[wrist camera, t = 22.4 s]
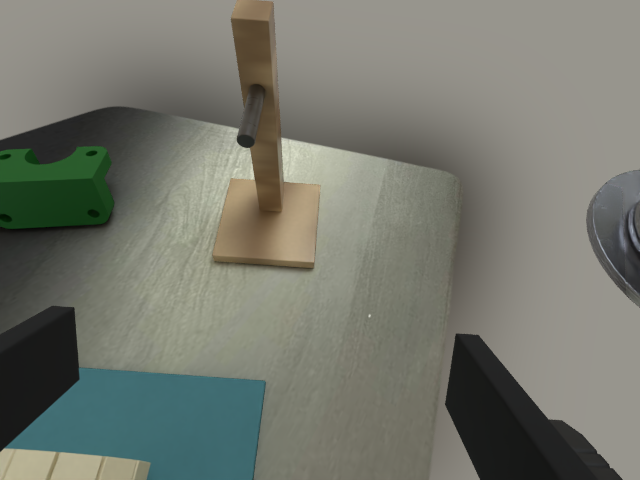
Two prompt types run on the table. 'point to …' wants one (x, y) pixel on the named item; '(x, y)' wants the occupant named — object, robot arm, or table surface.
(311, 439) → the table surface
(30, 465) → the segmented ring
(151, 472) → the mat
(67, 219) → the clamp
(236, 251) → the hook stand
